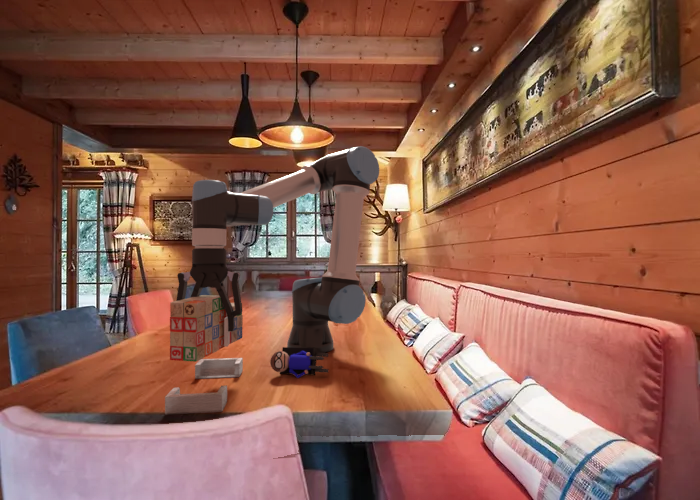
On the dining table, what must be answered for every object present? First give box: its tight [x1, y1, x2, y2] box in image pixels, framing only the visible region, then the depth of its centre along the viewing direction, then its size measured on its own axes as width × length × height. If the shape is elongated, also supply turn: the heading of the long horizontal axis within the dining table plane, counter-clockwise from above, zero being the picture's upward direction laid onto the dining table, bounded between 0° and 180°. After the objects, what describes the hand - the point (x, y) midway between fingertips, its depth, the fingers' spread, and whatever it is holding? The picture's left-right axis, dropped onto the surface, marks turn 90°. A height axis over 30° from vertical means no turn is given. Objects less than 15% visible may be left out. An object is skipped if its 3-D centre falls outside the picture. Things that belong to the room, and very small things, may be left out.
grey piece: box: [194, 357, 244, 380], centre depth 100 cm, size 11×5×4 cm, turn 97°
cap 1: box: [164, 384, 228, 416], centre depth 79 cm, size 11×5×4 cm, turn 97°
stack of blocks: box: [169, 294, 244, 363], centre depth 90 cm, size 21×6×12 cm, turn 170°
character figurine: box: [269, 346, 329, 379], centre depth 99 cm, size 8×7×15 cm
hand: (209, 345), depth 90 cm, fingers closed on stack of blocks, 7 cm apart
